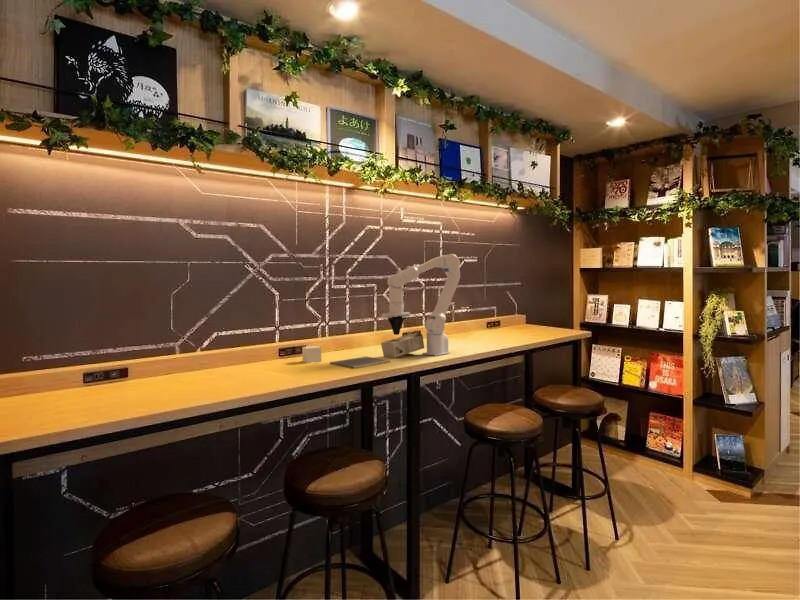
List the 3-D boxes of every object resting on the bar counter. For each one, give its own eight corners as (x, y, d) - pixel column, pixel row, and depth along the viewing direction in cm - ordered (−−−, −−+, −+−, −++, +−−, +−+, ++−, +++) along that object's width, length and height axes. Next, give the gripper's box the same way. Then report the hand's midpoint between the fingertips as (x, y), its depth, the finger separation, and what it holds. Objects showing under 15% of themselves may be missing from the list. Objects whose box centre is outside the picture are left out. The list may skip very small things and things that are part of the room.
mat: (365, 357, 194) (365, 356, 194) (390, 362, 183) (390, 360, 183) (329, 363, 182) (329, 362, 182) (354, 368, 170) (354, 367, 170)
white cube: (321, 362, 187) (321, 347, 187) (307, 363, 184) (306, 348, 184) (316, 359, 192) (316, 345, 192) (302, 361, 189) (302, 346, 189)
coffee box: (380, 342, 196) (409, 333, 206) (383, 356, 197) (412, 347, 206) (393, 342, 189) (422, 333, 199) (396, 358, 190) (425, 348, 199)
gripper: (402, 301, 203) (402, 332, 203) (376, 303, 193) (377, 335, 194) (413, 302, 198) (413, 333, 198) (387, 303, 188) (388, 336, 188)
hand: (396, 334), depth 196 cm, fingers closed
